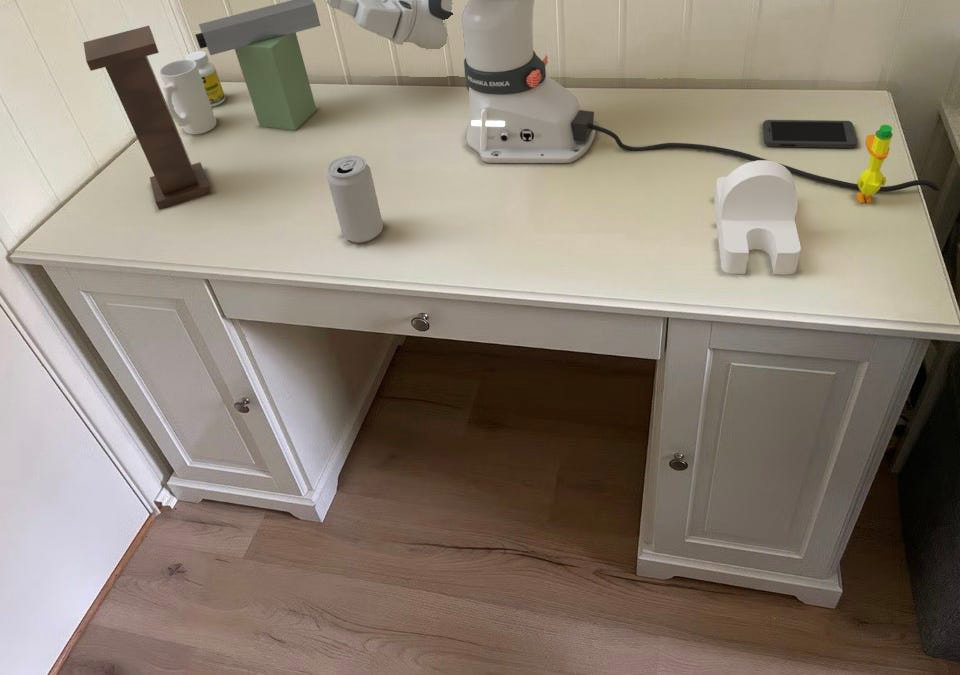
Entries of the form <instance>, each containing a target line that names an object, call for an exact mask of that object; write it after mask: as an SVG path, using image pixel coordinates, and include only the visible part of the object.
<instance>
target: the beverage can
mask: <svg viewBox="0 0 960 675" xmlns="http://www.w3.org/2000/svg"><path fill="white" fill-rule="evenodd" d="M326 179H327V183H328V187H329V190H330V194H331V198H332V202H333V205H334V208H335V213H336V216H337V220H338V224H339V226H340V230H341V234H342V236H343V237H344V238H345V239H346V240H347V241H350V242H353V243H358V244H361V243H367V242H370V241H372V240H374V239H375V238H376V237H378V236H379V235H380V233H381V232H383V228H384V222H383V219H382V218H383V217H382V214H381V209H380V205H379V201H378V197H377V191H376V188H375V183H374V178H373V173H372V170H371V167H370V166H369V164H368V163H367V160H366V159H365V158H363V157H362V156H359V155H345V156H341V157H338V158H336V159H334V160H332V162H330V163H329V164H328V166H327V175H326Z"/></svg>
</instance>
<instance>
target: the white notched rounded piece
mask: <svg viewBox="0 0 960 675" xmlns="http://www.w3.org/2000/svg"><path fill="white" fill-rule="evenodd" d="M768 160H769V159H766V160H757V161H749V162H746V163H743V164H742V165H739V166H738V167H736V168H735V169H733V170H732V171H731V172H730V173H729V174H728V175H727V176H721V177H718V178H717V179H716V183H715V189H714V190H715V191H714V197H713V198H714V199H713V205H714V214H715V223H716V232H717V240H718V249H719V250H718V251H719V258H720V268H721V270H722V272H724V273H726V274H731V275H746V271H747V267H748V260H749V255H750V251H752V250H759V251H763V252H765V253H766V254H768V255H769V259H770V264H771V269H772V275H783V276H784V275H787V276H789V275H793V274H795V273H796V272H797V268H798V263H799V260H800V255H801V254H800V253H801V250H802V247H801V243H800V239H799V238H800V237H799V234H798V229H797V225H796V216H797V212H798V211H797V210H798V206H799V205H798V204H799V196H798V190H797V187H796V183H795V178H794V177H793V175H792V173H790V171H789V170H788V169H787V168H786V167H784V166H783V165H784V164H783V165H781V164H782V163H779V162H777V161H772V160H769V161H768Z"/></svg>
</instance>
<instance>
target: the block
mask: <svg viewBox="0 0 960 675" xmlns="http://www.w3.org/2000/svg"><path fill="white" fill-rule="evenodd" d="M234 52H235V55H236V58H237V60H238V64H239V67H240V70H241V73H242V76H243V79H244V82H245V85H246V88H247V92H248V94H249V97H250V100H251V104H252V106H253V109H254V113H255V116H256V118H257V121H258V124H259V127H262V128H263V127H264V128H271V129H280V130H289V131H296V130H298V129H299V128H300V127H301V126H302V125H303V124H304V123H305V122H306V121H307V120H308V119H309V118H310V117H311V116H312V115H313V114H314V113H315V112H316V111H317V106H316V103H315V102H316V101H315V98H314V95H313V92H312V87H311V84H310V80H309V77H308V73H307V69H306V65H305V62H304V57H303V54H302V50H301V47H300V43H299V39H298V36H297V32H295V33H292V34H288V35H284V36H281V37H277V38H273V39H269V40H266V41H262V42H258V43H255V44H251V45H247V46H243V47H240V48H236V49H234Z"/></svg>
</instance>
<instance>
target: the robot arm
mask: <svg viewBox="0 0 960 675" xmlns="http://www.w3.org/2000/svg"><path fill="white" fill-rule="evenodd" d="M535 1H536V0H469V1H468V3H467V5H466V6H465V9H464V11H463V14H462V20H461V21H462V29H463V38H464V46H465V47H464V54H465V58H464V60H463V67H464V68H463V69H464V80H465V86H466V89H467V92H468V120H467V121H468V123H467V130H466V134H465V140H466V143H467V145H468V147H470V148H471V149H472V150H474V151H475V152H477V153H478V154H479V156H480V158H481V160H482V162H484V163H487V164H488V163H490V164H570V163H572V162H575V161H577V160H579V159H580V158H581V157H582V156H584V154H586V152H588V150H589V149H590V147H591V146H592V144H593V142H594V140H595V137H596V133H597V132H598V133H603V134H605V135H607V136H609V137H611V138H612V139H614V141H615V143H616V144H617V146H618V147H619V148H620V149H622V150H625V151H628V152H646V151H647V152H648V151H655V150H656V151H657V150H661V149H671V148H672V149H673V148H674V149H692V150H702V151H708V152H715V153H720V154H726V155H730V156H735V157H739V158H741V159H746V160H748V161H751V162H753V161H757V160H768V161H770V160H769V159H766V158H763V157H759V156H756V155H752V154H750V153H746V152H743V151H739V150H735V149H730V148H725V147H721V146H720V147H719V146H715V145H707V144H701V143H700V144H699V143H689V142H688V143H687V142H664V143H657V144H652V145H646V146H630V145H627V144H625V143H623V142H622V139H621V138H620V137H619V136H618V135H617V134H616V133H615V132H614V131H612V130H610V129H607V128H605V127H602V126H599V125H596V124H595V111H591V110H583V109H582V108H581V104H580V101H579V98H578V97H577V95H575V94H574V93H573V92H572V91H570V90H568V89H567V88H566V87H564V86H562V85H561V84H560V83H558V82H557V81H555V79H553V78H551V77H550V76H549V75H548V74H547V73H546V72H547V71H546V70H547V69H546V66H547V65H548V55H545V56H544V58H543V59H541V58H540V57H539V56H538V55H537V53H536V51H535V50H534V38H533V37H534V36H533V35H534V34H533V33H534V32H533V31H534V30H533V24H534V23H533V18H534V17H533V16H534V5H535ZM326 3H327V5H328V6H329V7H330V8H332V9H336V10H338V11H341V12H342V13H344V14H346V15H349V16H350V17H351V18H352V19H353V21H355V23H356V24H357V25H358V26H359V27H361V28H362V29H364V30H366V31H368V32H371V33H374V34H376V35H377V36H379V37H382V38H385V39H387V40H389V41H391V43H393V44H395V45H400V46H402V45H404V43H410V44H414V45H415V46H416V47H418V48H422V49H424V48H425V50H428V49H440V48H441V47H443V46H444V45H445V44H446V43H447V42H446V41H447V36H448V34H447V31H446V30H447V29H446V27H445V26H444V25H445V23H443V20H445V19H448V18H449V17H450V16H451V15H453V13H452V12H451V10H452V6H451V5H452V4H453V3H452V0H326ZM780 164H781V165H783V166H784V167H786V168H787V169H788V170H789V171H790V173H791V174H793V175H797V176H799V177H802V178H806V179H809V180H812V181H816V182H821V183H825V184H828V185H832V186H837V187H842V188H845V189H846V188H847V189H852V190H857V191H860V189H859V187H858V184H857V183H853V182H850V181H849V182H848V181H843V180H839V179H834V178H830V177H825V176H821V175H817V174H813V173H811V172H807V171H805V170H801V169H797V168H795V167H792V166H789V165H786V164H783V163H780ZM916 186H926V187H929V188H931V189H932V190H933V191H937V192H939V191H941V190H942V189H941V188H940V186H939V185H938V184H937V183H935V182H933V181H931V180H928V179H915V180H910V181H906V182H902V183H899V184H894V185H887V186H886V185H884V186H883V185H881V187H880V190H878V191H877V192H876V193H889V192H897V191H899V190H904V189H907V188H911V187H916Z"/></svg>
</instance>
